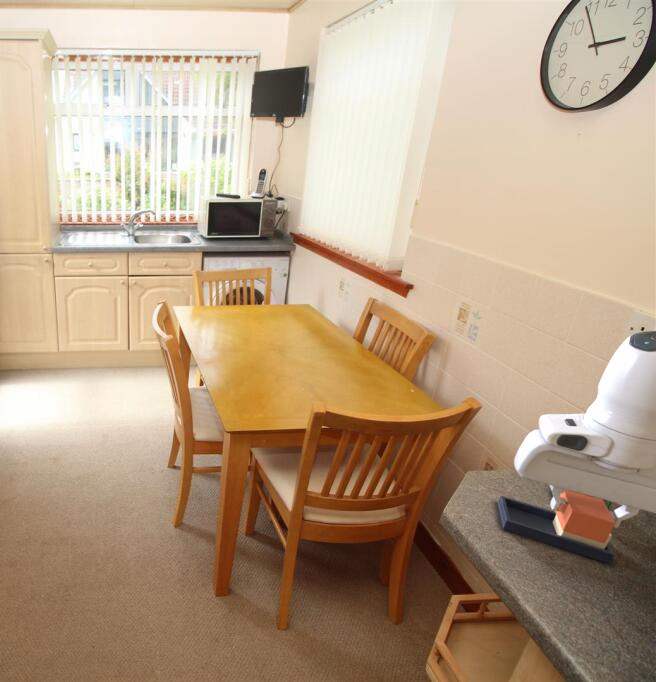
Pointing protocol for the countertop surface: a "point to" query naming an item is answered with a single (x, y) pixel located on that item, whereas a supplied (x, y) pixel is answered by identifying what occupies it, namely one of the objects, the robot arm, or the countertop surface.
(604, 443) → the robot arm
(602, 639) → the countertop surface
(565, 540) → the frame
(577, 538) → the cream block
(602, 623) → the countertop surface
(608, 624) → the countertop surface
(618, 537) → the countertop surface
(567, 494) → the orange block
